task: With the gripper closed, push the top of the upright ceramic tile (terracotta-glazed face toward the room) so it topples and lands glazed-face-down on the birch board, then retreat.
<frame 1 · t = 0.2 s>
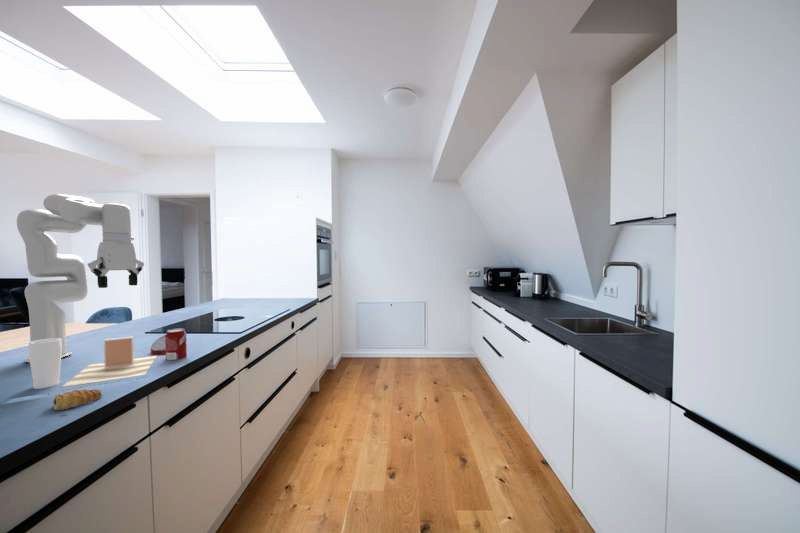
hand: (118, 286, 110), 30 cm above the counter, tool pointing down, fingers open, 9 cm apart
drinking glass: (47, 388, 96), on the counter
board: (116, 372, 109), on the counter
tile: (119, 365, 113), point 1 cm above the counter, touching board
canned food: (165, 354, 131), on the counter
pastry: (74, 405, 85), on the counter
soda can: (176, 360, 122), on the counter
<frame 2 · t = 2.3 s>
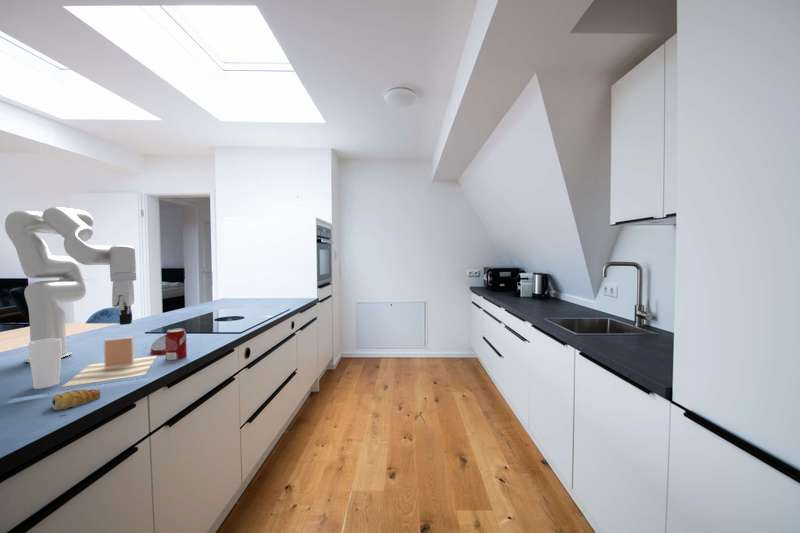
hand: (125, 323, 120), 15 cm above the counter, tool pointing down, fingers closed
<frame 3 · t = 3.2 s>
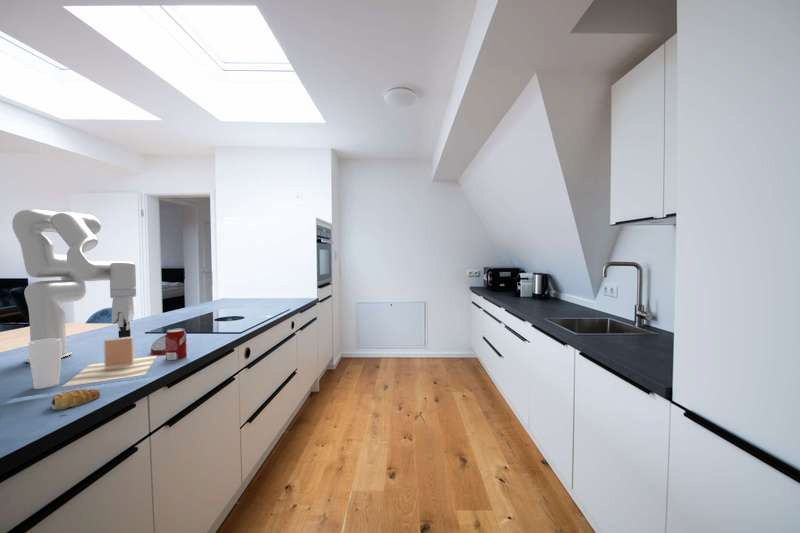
hand: (124, 340, 120), 9 cm above the counter, tool pointing down, fingers closed
nothing on the counter moved.
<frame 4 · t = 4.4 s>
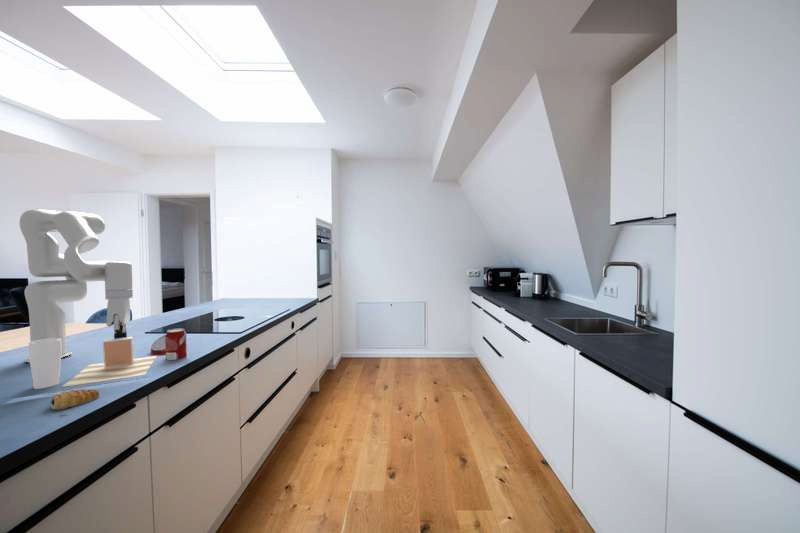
hand: (120, 343, 115), 9 cm above the counter, tool pointing down, fingers closed
tile: (119, 364, 113), point 1 cm above the counter, tilted 7°, touching board
everything else where it was.
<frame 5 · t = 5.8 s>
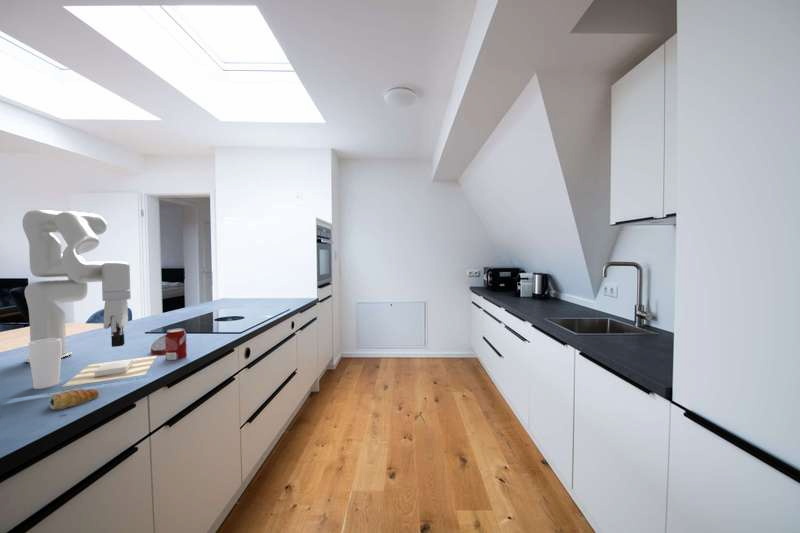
hand: (118, 345, 112), 9 cm above the counter, tool pointing down, fingers closed
tile: (119, 363, 112), point 2 cm above the counter, tilted 90°, touching board
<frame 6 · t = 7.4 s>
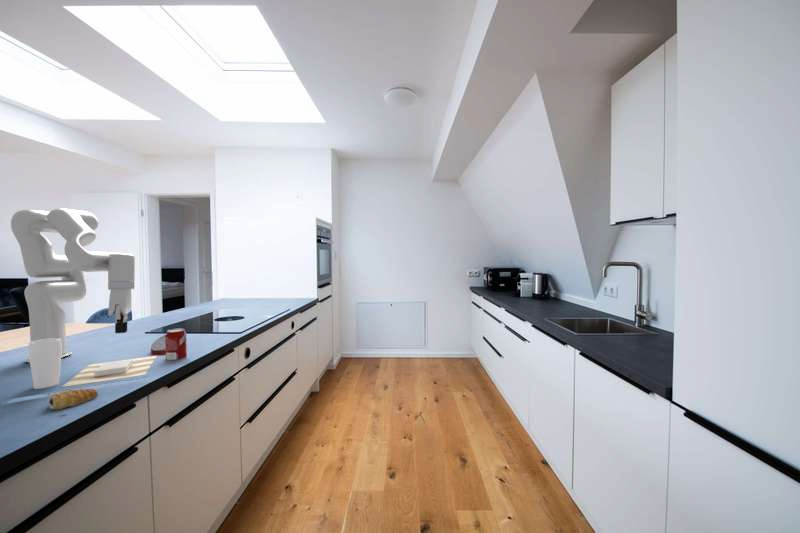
hand: (121, 332, 118), 12 cm above the counter, tool pointing down, fingers closed
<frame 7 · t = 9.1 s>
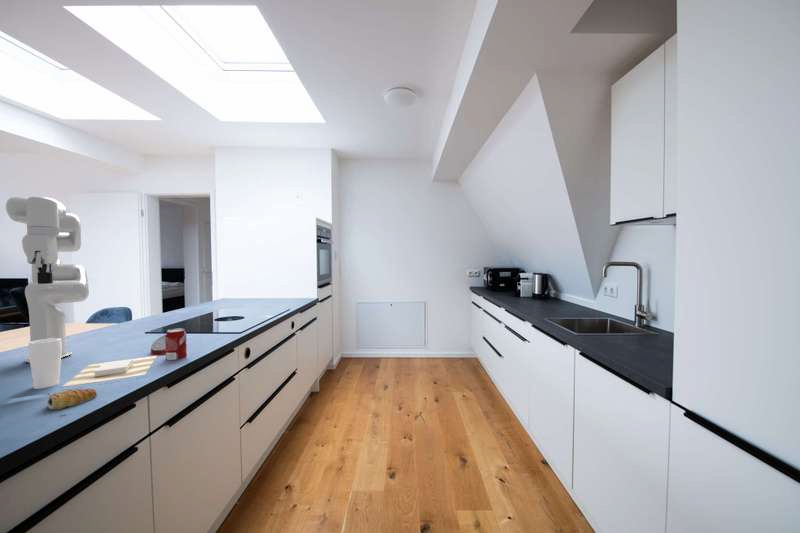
hand: (45, 283, 110), 32 cm above the counter, tool pointing down, fingers closed
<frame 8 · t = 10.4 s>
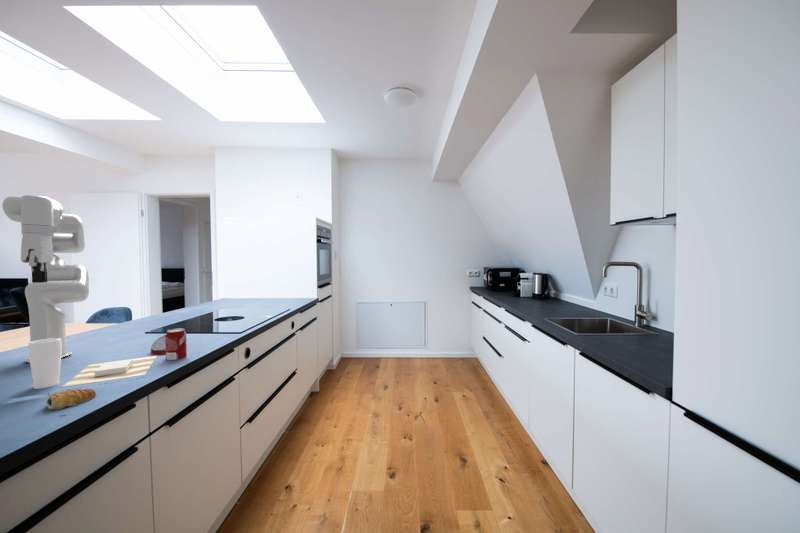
hand: (39, 282, 110), 32 cm above the counter, tool pointing down, fingers closed
at the end: tile tilted 90°; tile inside the target area (4.4 cm from its centre), point 2.0 cm above the counter; tile touching board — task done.
